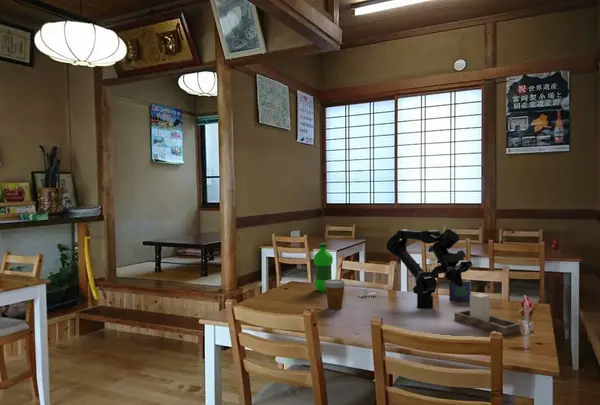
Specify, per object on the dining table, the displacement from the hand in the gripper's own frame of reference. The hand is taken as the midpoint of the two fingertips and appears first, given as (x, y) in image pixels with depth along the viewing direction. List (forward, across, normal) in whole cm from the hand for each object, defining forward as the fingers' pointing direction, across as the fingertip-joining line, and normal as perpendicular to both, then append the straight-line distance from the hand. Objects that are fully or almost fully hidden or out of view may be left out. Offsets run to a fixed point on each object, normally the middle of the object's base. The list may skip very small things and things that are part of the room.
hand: (461, 287), depth 182 cm
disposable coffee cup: (-17, -40, +35) cm, 56 cm away
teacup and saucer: (-21, -16, +44) cm, 52 cm away
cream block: (+14, 0, +1) cm, 14 cm away
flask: (-3, +18, +26) cm, 32 cm away
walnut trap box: (+17, 0, 0) cm, 17 cm away
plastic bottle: (-37, -30, +61) cm, 77 cm away
